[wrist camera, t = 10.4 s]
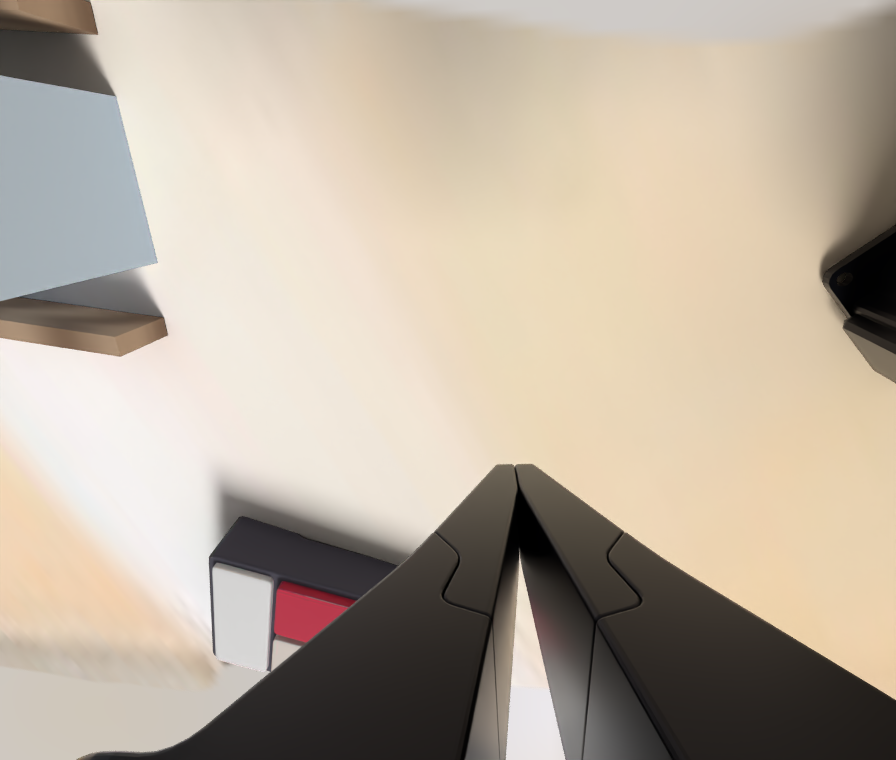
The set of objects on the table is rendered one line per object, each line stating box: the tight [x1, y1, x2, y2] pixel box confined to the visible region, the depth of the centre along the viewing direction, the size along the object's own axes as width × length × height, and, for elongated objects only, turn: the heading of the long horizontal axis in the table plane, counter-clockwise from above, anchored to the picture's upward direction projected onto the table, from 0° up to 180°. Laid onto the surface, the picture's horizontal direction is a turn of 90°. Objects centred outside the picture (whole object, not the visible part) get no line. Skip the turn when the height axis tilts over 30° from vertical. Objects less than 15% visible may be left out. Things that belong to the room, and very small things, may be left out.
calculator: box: [209, 516, 398, 672], centre depth 29 cm, size 11×4×15 cm
